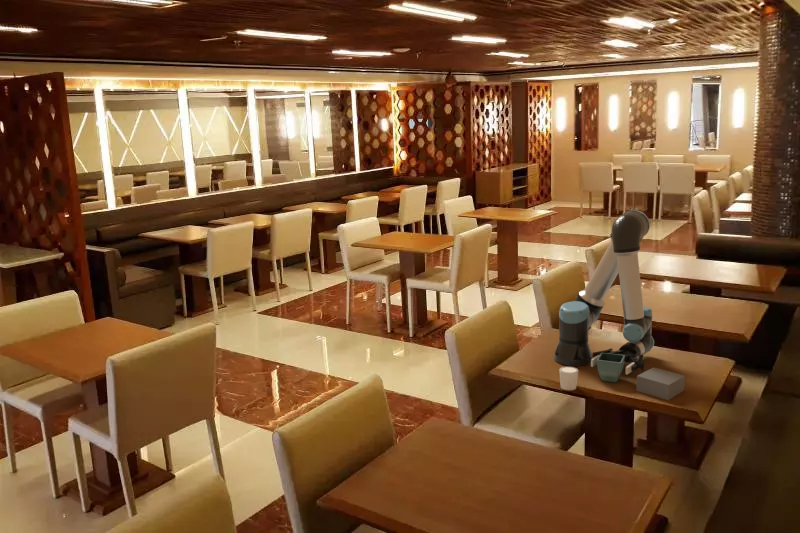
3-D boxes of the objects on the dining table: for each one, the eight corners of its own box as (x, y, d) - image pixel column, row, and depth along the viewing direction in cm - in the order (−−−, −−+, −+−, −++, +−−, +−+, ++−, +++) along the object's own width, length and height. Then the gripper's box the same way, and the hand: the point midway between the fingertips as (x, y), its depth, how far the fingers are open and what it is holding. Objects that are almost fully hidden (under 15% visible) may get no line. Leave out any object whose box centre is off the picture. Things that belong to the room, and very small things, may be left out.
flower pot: (595, 382, 252) (596, 359, 250) (600, 374, 259) (601, 352, 258) (620, 385, 248) (621, 362, 246) (624, 377, 255) (625, 355, 253)
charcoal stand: (636, 391, 243) (636, 375, 242) (652, 382, 251) (653, 367, 249) (667, 401, 234) (668, 384, 233) (684, 391, 242) (685, 375, 241)
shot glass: (576, 383, 251) (576, 366, 249) (579, 391, 244) (579, 373, 243) (557, 383, 252) (558, 366, 250) (560, 391, 245) (560, 373, 243)
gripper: (662, 366, 259) (641, 384, 243) (601, 353, 275) (577, 369, 259) (663, 348, 257) (642, 364, 241) (601, 336, 273) (578, 350, 258)
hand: (608, 367), depth 250 cm, fingers open, 13 cm apart
